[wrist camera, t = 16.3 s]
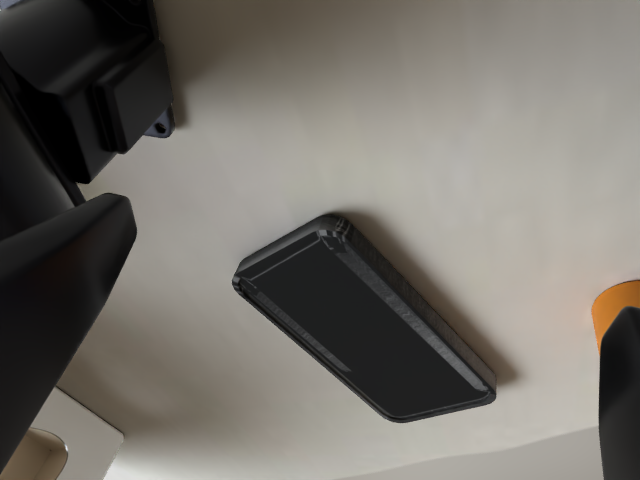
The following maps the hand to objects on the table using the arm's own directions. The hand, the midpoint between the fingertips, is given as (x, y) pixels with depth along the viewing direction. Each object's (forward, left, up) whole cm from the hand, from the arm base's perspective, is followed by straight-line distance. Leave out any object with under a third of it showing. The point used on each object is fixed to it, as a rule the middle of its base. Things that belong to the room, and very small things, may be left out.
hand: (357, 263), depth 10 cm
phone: (0, -17, -12) cm, 21 cm away
